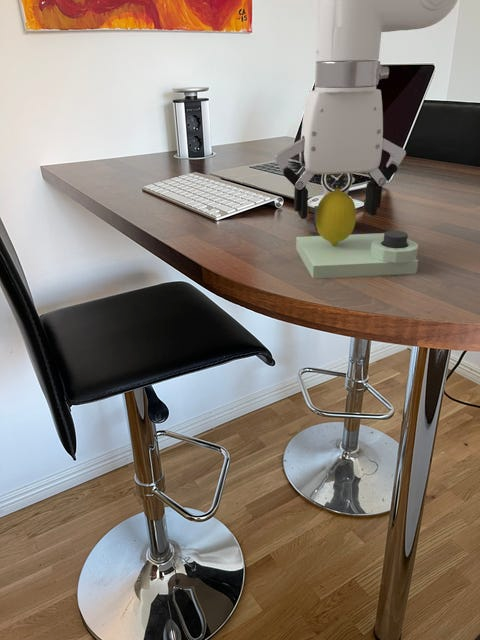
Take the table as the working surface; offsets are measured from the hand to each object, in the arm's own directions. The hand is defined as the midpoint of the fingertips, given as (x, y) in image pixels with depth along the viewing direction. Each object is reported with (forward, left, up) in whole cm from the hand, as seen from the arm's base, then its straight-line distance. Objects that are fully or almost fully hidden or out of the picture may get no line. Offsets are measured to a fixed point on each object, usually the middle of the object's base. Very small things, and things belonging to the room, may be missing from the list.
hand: (336, 214), depth 69 cm
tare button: (-7, +5, -3) cm, 9 cm away
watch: (-3, -14, -7) cm, 16 cm away
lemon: (0, 0, -5) cm, 5 cm away
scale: (-2, +2, -6) cm, 7 cm away
